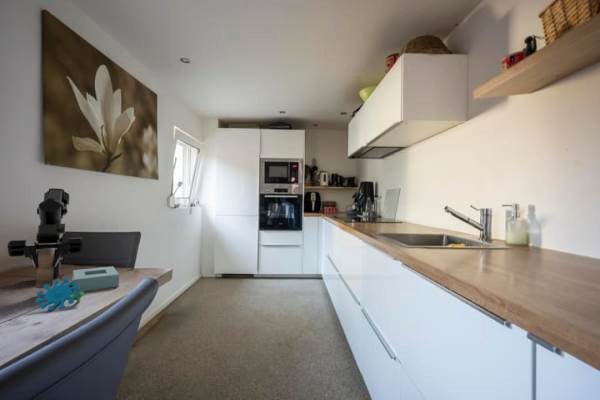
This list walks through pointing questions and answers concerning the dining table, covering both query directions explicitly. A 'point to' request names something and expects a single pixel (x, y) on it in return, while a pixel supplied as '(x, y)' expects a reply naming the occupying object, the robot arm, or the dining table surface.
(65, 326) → the dining table surface
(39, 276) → the peg
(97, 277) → the housing
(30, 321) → the dining table surface
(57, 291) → the gear
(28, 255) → the robot arm
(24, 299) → the dining table surface
